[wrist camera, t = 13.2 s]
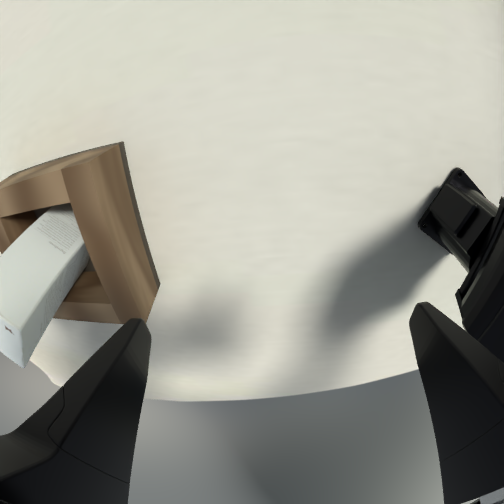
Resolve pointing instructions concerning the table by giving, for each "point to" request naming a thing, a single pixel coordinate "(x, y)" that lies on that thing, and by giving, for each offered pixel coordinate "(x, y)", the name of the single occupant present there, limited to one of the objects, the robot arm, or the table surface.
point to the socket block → (89, 230)
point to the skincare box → (38, 279)
